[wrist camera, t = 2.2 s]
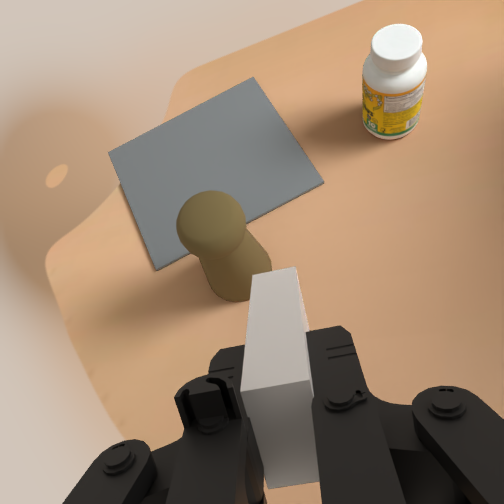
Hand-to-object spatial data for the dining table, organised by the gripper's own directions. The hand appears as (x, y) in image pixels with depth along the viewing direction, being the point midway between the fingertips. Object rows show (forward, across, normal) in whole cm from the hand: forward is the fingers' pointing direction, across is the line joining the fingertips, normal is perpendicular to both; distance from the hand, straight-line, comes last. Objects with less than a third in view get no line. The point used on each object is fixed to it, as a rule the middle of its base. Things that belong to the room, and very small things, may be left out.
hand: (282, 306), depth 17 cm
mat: (+34, -7, +1) cm, 35 cm away
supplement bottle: (+35, +12, +1) cm, 36 cm away
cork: (+26, -5, -8) cm, 28 cm away
